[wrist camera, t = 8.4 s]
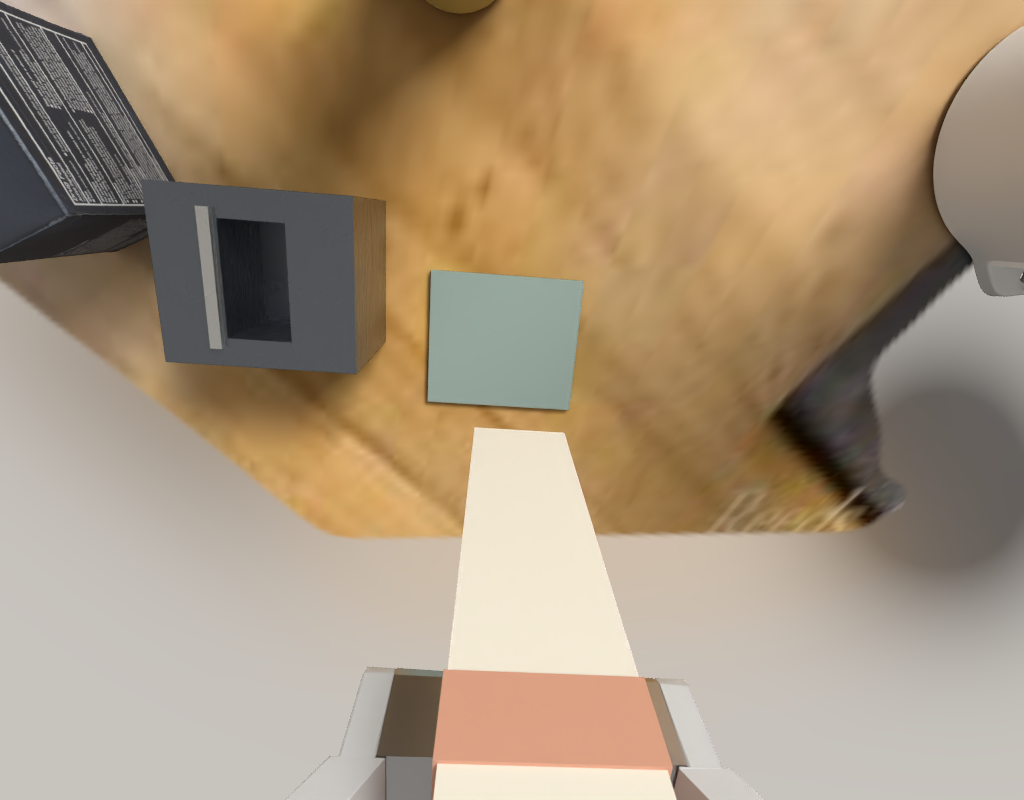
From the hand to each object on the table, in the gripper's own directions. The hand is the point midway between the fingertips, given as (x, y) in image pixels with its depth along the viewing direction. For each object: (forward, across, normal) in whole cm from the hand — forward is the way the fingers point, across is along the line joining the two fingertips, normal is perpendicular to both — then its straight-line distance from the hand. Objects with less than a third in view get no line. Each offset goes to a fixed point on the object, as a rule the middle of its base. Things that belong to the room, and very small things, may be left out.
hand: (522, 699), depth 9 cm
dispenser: (+29, +13, -4) cm, 32 cm away
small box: (+29, +25, -10) cm, 40 cm away
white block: (+7, 0, 0) cm, 7 cm away
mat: (+29, 0, 0) cm, 29 cm away
